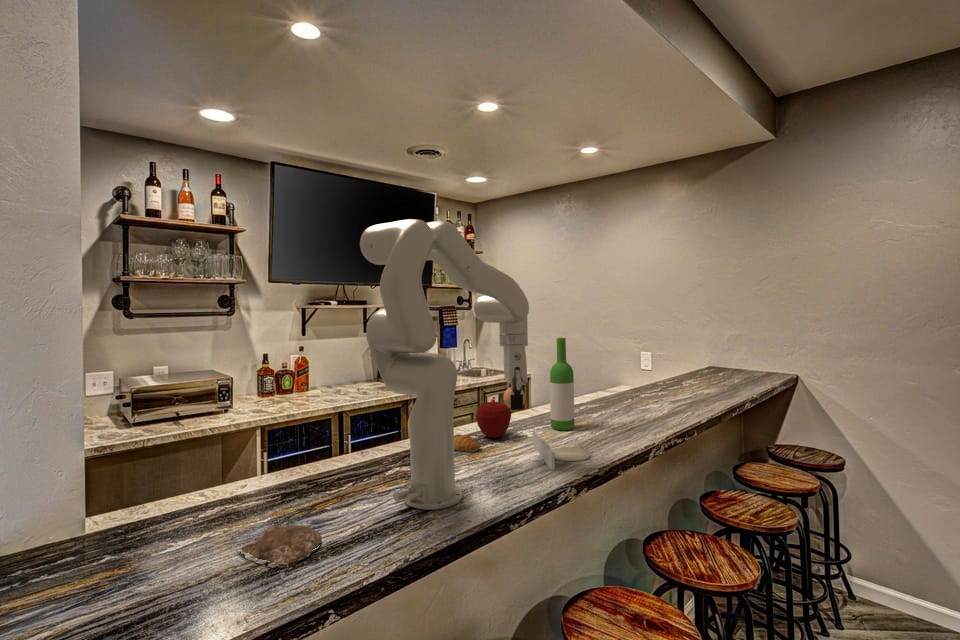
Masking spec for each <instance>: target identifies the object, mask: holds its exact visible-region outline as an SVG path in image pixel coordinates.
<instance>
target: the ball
mask: <svg viewBox="0 0 960 640" xmlns="http://www.w3.org/2000/svg"><path fill="white" fill-rule="evenodd" d="M522 392H523V406H524V405H525V402H526V399H527V398H526V393H525V391H524V390H523V389H522ZM510 395H512V392H511V387H510V388H508V389H507V388H506V390H505V392H504V393H503V403H504V404H506V405H507V406H508V407H509V408H510V409H511V397H510Z"/></svg>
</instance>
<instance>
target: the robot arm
mask: <svg viewBox="0 0 960 640" xmlns="http://www.w3.org/2000/svg"><path fill="white" fill-rule="evenodd" d="M359 248H360V252H361V253H362V255H363V257H364V258H365V259H366V260H367V261H368V262H369V263H370V264H371V263H372V264H374V265H378V266H382V265H385V266H384V267H383V270H382V273H381V277H380V279H379V280H380V281H379V293H380V297H381V301H382V304H383V307H384V308H382V309H378V310H377V311H375V312H374V313H372V315H371V316H370V317H369V319H368V322H367V325H366V340H367V344H368V347H369V350H370V354H372V358H373V360H374V363H375V365H376V368H377V371H378V372H379V375H380V378H381V379H382V383H384V385H385V387H386V388H387V389H388V390H390V392H392V393H395V394H399V395H404V396H405V395H406V396H412V397H415V398H416V400H415V402H414V404H413V407H412V408H411V410H410V415H409V423H408V425H409V428H408V429H409V449H410V450H409V453H410V454H409V455H410V456H409V457H410V458H409V459H410V480H407V481H406V483H407V485H406V486H405V487H404V489H400V490H398V491H395V492H393V493H392V498H393V500H394V502H396V503H397V502H401V501H404V503H405V504H406V505H408V506H409V507H411V508H414V509H416V510H417V509H419V510H425V511H426V510H430V511H431V510H432V511H433V510H439V509H440V510H442V509H446V508H449V507H452V506H455V505H457V504H458V503H459V502H461V501H462V499H463V490H462V488H461V487H459V486H458V485H456V472H455V471H456V470H455V467H456V466H455V465H456V464H455V463H456V462H455V449H454V436H455V433H454V432H455V431H454V424H455V423H454V422H455V421H454V405H455V404H454V403H455V394H456V393H455V392H456V388H457V382H458V369H457V366H456V364H455V362H454V361H452V359H450V358H449V357H448V356H446V355H443V354H439V353H432V352H431V353H430V352H428V351H429V350H431V349H433V348H434V346H435V344H436V342H437V330H436V325H435V322H434V319H433V317H432V313H431V311H430V307H429V305H428V301H427V298H426V295H425V291H424V288H423V281H422V278H423V277H422V276H423V272H424V271H423V270H424V268H425V264H426V262H427V261H433V262H435V264H437V266H438V267H439V269H440V270H442V271H443V273H444V274H445V275H446V276H447V277H448V279H449V280H450V281H451V282H452V284H453V285H455V286H456V287H458V288H460V289H463V290H465V291H468V292H471V293H476V294H480V296H479V297H477V299H476V300H475V301H474V303H473V313H474V315H475V316H476V318H477V320H479V321H481V322H484V323H491V324H492V323H494V324H495V323H496V324H499V347H503V375H504V380H505V381H506V390H507V389H508V388H510V387H511V392H512V395H510V397H511V408H510V410H511V411H522V410H523V409H524V405H523V392H522V390H523V384H527V383H528V365H527V353H526V351H527V350H526V347H528V346H529V345H528V343H529V342H528V339H529V337H528V328H529V327H528V316H529V312H530V311H529V310H530V305H529V300H528V298H527V296H526V293H524V291H523V289H522V288H521V287H520V285H519V284H518V283H517V281H515V279H514V278H512V277H511V276H509V275H508V274H506V273H504V271H501V270H499V269H497V268H496V267H494V266H492V265H490V264H488V263H486V262H484V261H482V259H481V258H480V257H479V256H478V254H477V253H476V252H475V251H474V249H473V248H472V247H471V245H470V244H469V242H468V241H467V240H466V238H465V237H464V236H463V235H462V233H461V232H460V231H459V229H458V228H457V227H456V226H455V224H453V223H452V222H449V221H446V220H435V221H428V222H426V221H424V220H422V219H418V218H415V219H414V218H408V219H402V220H396V221H391V222H384V223H378V224H374V225H371V226H368V227H367V228H366V229H364V231H363V232H362V234H361V237H360V240H359Z"/></svg>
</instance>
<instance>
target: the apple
mask: <svg viewBox="0 0 960 640" xmlns="http://www.w3.org/2000/svg"><path fill="white" fill-rule="evenodd" d="M511 418H512V410H511V408H509V407H508V406H507V405H506V404H505V403H504V402H500V401H494V400H492V401H486V402H482V403H481V404H480V405H479V406H478V408H477V409H476V414H475V419H476V423H477V425H478V429H480V431H481V433H482V434H483V435H485V436H486V437H487V438H490V439H498V438H501V437H503V436H504V435H505V434H506V433H507V431H508V428H509V426H510V423H511Z"/></svg>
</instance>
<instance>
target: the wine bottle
mask: <svg viewBox="0 0 960 640" xmlns="http://www.w3.org/2000/svg"><path fill="white" fill-rule="evenodd" d="M566 341H567V339H566V337H556V362H555V363H554V364H553V365H552V366H551V368H550V372H549V389H550V390H549V397H550V398H549V401H550V402H549V403H550V405H549V406H550V426H551V428H552V429H553V430H555V431H561V430H563V431H565V430H566V431H570V430H573V429H574V427H575V385H574V383H575V379H574V370H573V367H572V366H571V364H569V363H568V362H567V347H566V345H567V344H566V343H567V342H566Z"/></svg>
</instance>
